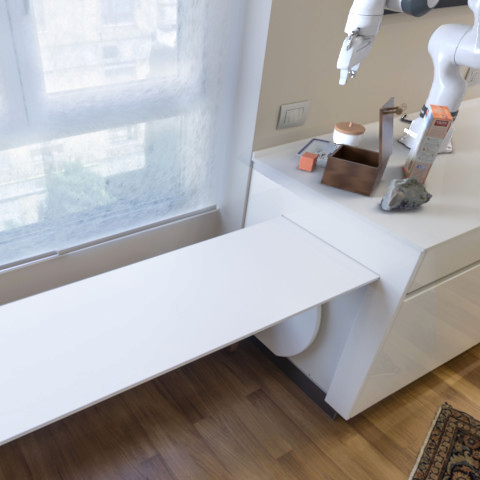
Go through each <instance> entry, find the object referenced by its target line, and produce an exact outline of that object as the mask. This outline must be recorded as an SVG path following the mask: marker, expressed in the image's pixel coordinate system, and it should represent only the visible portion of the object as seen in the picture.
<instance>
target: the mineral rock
mask: <svg viewBox="0 0 480 480" xmlns="http://www.w3.org/2000/svg"><path fill="white" fill-rule="evenodd" d="M432 197H433V194H432V193H430V192H428V190H427V188H426V186H425V185H424V184H422V183H421V182H419V181H418V180H417V179H415V178H414V177H412V176H411V177H410V178H407V179H405V178H403V179H397V178H393V179H392V180H391V181H390V183H389V186H388V188H387V191H386V194H385V195H384V196H383V197H382V199H381V201H380V206H381V208H382V210H385V211H386V212H391V211H401V210H411V209H413V210H414V209H417V208H420V207H421V206H422V205H425V204H427V203H429V202H430V201H431V199H432Z"/></svg>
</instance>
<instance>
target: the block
mask: <svg viewBox="0 0 480 480" xmlns="http://www.w3.org/2000/svg"><path fill="white" fill-rule="evenodd" d="M318 159H319V154H317V153H313V152H309V151H305V152H304V153H303V154H302V155H301V156H300V160H299V165H298V170H303V171H307V172H309V173H310V172H312V171H313V170H314V169H315V168H316V166H317V163H318Z"/></svg>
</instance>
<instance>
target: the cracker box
mask: <svg viewBox="0 0 480 480" xmlns="http://www.w3.org/2000/svg"><path fill="white" fill-rule="evenodd" d="M452 122H453V118H452V116H451V114H450V111H449V109H448V107H447V106H441V105H432V104H430V105H429V106H428V109H427V111H426V114H425V116H424V118H423V121H422V123H421V126H420V128H419V131H418V133H417V135H416V138H415V140H414V143H413V145H412V147H411V148H410V150H409V152H408V155H407V157H406V159H405V162H404V164H403V171H404V179H407V178H410V177H411V176H412V177H414V178H415V179H417V180H418V181H419V182H421V183H422V184H423V185H424V184H425V182H426V180H427V178H428V175H429V173H430V171H431V169H432V167H433V165H434V162H435V160H436V159H437V156H438V154H439V153H438V152H439V150H440V147H441V145H442V143H443V141H444V139H445V137H446V134H447V132H448V130H449V128H450V126H451V124H452ZM453 123H454V122H453Z"/></svg>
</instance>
